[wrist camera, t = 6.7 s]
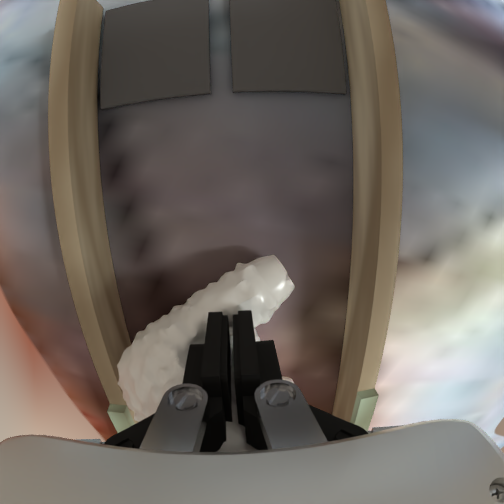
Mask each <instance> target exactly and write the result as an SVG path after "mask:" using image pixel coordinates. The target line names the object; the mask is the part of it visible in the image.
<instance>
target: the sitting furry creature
mask: <svg viewBox="0 0 504 504" xmlns="http://www.w3.org/2000/svg"><path fill="white" fill-rule="evenodd" d="M294 288H295V287H294V284H293V283H292V281H291V279H290V278H289V276H288V275H287V272H286V270H285V268H284V267H283V265H282V264H281V262H280V261H279V260H278V259H277V257H276V256H275V255H270V256H264V257H260V258H257V259H255V260H253V261H251V262H249V263H247V264H243V263H237V264H236V268H235V270H234V271H230V272H225V274H224V275H223V276H221V278H220V279H219V280H218V282H213V283H209V284H208V286H207V287H206V288H205V289H202V290H199V291H197V292H195V293H193V295H192V296H191V297H190V298H188V299H187V302H186V303H185V304H184V305H177V306H174V307H173V308H172V310H171V311H170V313H169V314H168V315H163V316H162V317H161V318H160V319H158V320H156V321H155V322H154V323H153V322H151V323H150V324H148V325H147V327H146V329H145V330H144V331H139V332H137V334H136V336H135V339H134V341H133V343H132V345H131V346H129V347H127V348H126V349H125V350H124V352H123V354H122V356H121V359H120V361H119V363H118V364H117V368H118V372H119V381H118V383H117V384H118V385H119V386H120V387H121V389H122V391H123V399H124V400H125V401H126V403H127V406H128V408H129V409H131V410H132V411H134V412H135V413H134V420H136V421H138V422H140V421H141V420H143V419H145V418H147V417H149V416H150V415H152V414H154V413H155V412H156V410H157V408H158V406H159V404H160V401H161V399H162V397H163V395H164V394H165V392H166V391H167V390H169V389H170V388H171V387H174V386H176V385H180V384H182V383H183V377H184V372H185V366H186V361H187V356H188V351H189V346H190V344H204V343H205V335H206V327H207V319H208V312H222V313H223V315H228V322H229V335H230V346H231V399H232V400H231V402H232V422H227V421H226V441H225V442H224V443H223V444H222V446H221V448H220V449H219V450H218V451H217V452H238V451H255V450H257V449H255V448H254V447H252V446H250V445H249V444H247V443H246V433H245V427H244V426H242V425H240V424H238V414H237V404H236V394H235V383H234V364H233V315H234V314H238V311H242V310H251V311H252V318H253V326H254V333H255V341H260V338H259V337H258V335H257V331H256V330H255V327H256V326H258V325H259V324H265V323H267V322H268V321H270V319H271V317H272V315H273V314H274V312H275V311H276V310H277V309H279V308H280V304H282V303H283V302H284V301H285V300H286V299H287V298H288V297H289V296H290V294H291V292H292V291H293V289H294ZM282 380H286V381H289V382H292V383H294V382H293V380H292V379H291V378H290V377H285V376H282Z"/></svg>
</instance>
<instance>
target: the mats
mask: <svg viewBox="0 0 504 504" xmlns="http://www.w3.org/2000/svg"><path fill="white" fill-rule="evenodd" d="M230 29H231V56H232V81H233V93H235V92H315V93H332V94H346V93H347V91H346V79H345V68H344V58H343V49H342V41H341V33H340V26H339V19H338V12H337V6H336V0H230ZM205 94H211V92H210V59H209V0H150V1H145V2H140V3H136V4H131V5H127V6H123V7H119V8H115V9H111V10H108V11H106V13H105V22H104V32H103V44H102V60H101V90H100V109H102V110H104V109H109V108H114V107H119V106H124V105H129V104H135V103H141V102H147V101H153V100H160V99H168V98H175V97H184V96H194V95H205Z"/></svg>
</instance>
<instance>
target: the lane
mask: <svg viewBox="0 0 504 504" xmlns="http://www.w3.org/2000/svg"><path fill="white" fill-rule="evenodd" d="M339 4H340V10H341V16H342V23H343V30H344V38H345V46H346V54H347V64H348V74H349V85H350V98H351V114H352V136H353V229H352V251H351V267H350V281H349V293H348V304H347V315H346V324H345V333H344V341H343V349H342V356H341V363H340V370H339V377H338V383H337V389H336V395H335V401H334V406H333V412H332V415H333V416H336V417H338V418H341V419H343V420H345V421H348V422H350V423H353V424H355V425H358V426H360V427H362V428H363V429H365V430H366V431H368V428H369V425H370V422H371V419H372V415H373V412H374V409H375V406H376V402H377V399H378V394H377V392H376V390H375V384H376V380H377V376H378V372H379V368H380V364H381V359H382V355H383V350H384V345H385V340H386V335H387V330H388V324H389V319H390V313H391V307H392V301H393V294H394V287H395V279H396V271H397V262H398V253H399V242H400V230H401V214H402V190H403V141H402V118H401V103H400V91H399V81H398V72H397V64H396V56H395V49H394V43H393V37H392V31H391V25H390V20H389V15H388V10H387V6H386V1H385V0H339ZM102 15H103V7H102V6H101V5H100V4H99V3H98V2H97V1H96V0H60V2H59V7H58V12H57V18H56V24H55V30H54V37H53V45H52V53H51V64H50V76H49V96H48V140H49V160H50V173H51V184H52V193H53V202H54V209H55V216H56V223H57V229H58V235H59V240H60V246H61V251H62V256H63V260H64V265H65V270H66V274H67V278H68V282H69V286H70V290H71V294H72V298H73V301H74V305H75V309H76V312H77V315H78V319H79V322H80V325H81V329H82V332H83V335H84V338H85V341H86V344H87V347H88V350H89V352H90V355H91V358H92V361H93V363H94V366H95V369H96V371H97V374H98V376H99V379H100V381H101V384H102V386H103V389H104V391H105V393H106V396H107V398H108V400H109V403H110V406H109V408H108V410H107V412H108V414H109V416H110V419H111V421H112V423H113V425H114V427H115V429H116V430H117V432H118V433H119V432H121V431H123V430H125V429H127V428H129V427H130V426H132V425H134V424H136V423H138V421H136V420H134V413H135V412H134V411H132V410H131V409H129V408H128V406H127V403H126V401H125V400H124V399H123V391H122V389H121V387H120V386H119V385H118V384H117V383H118V381H119V372H118V368H117V364H118V363H119V361H120V359H121V356H122V354H123V352H124V350H125V349H126V348H127V347H129V346H131V342H130V338H129V334H128V330H127V326H126V323H125V319H124V314H123V310H122V306H121V302H120V297H119V293H118V288H117V283H116V278H115V273H114V268H113V263H112V257H111V252H110V246H109V239H108V233H107V226H106V219H105V211H104V203H103V194H102V185H101V174H100V161H99V144H98V113H97V92H98V61H99V46H100V34H101V24H102Z"/></svg>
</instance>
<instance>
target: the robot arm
mask: <svg viewBox="0 0 504 504" xmlns="http://www.w3.org/2000/svg"><path fill="white" fill-rule="evenodd" d="M233 364H234V383H235V394H236V404H237V414H238V424H240V425H242V426H244V427H245V433H246V443H247V444H249V445H250V446H252V447H254V448H255V449H257V450H255V451H238V452H217V451H218V450H219V449H220V448H221V446H222V444H223V443H224V442H225V441H226V421H227V422H232V402H231V400H232V399H231V346H230V335H229V322H228V315H223V313H222V312H208V319H207V327H206V335H205V343H204V344H190V346H189V351H188V356H187V361H186V366H185V372H184V377H183V383H182V384H180V385H176V386H174V387H171V388H170V389H169V390H167V391H166V392H165V394H164V395H163V397H162V399H161V401H160V404H159V406H158V408H157V410H156V412H155V413H154V414H152V415H150V416H149V417H147V418H145V419H143V420H141V421H140V422H138V423H136V424H134V425H132V426H130V427H129V428H127V429H125V430H123V431H121V432H119V433H117V434H115V435H113V436H112V437H110V438H109V439H107V441H106V442H101V440H100V439H81V440H73V439H67V438H62V437H54V436H46V435H22V436H21V435H20V436H15V437H10V438H7V439H5V440H3V441H2V442H0V504H504V453H503V452H502V451H501V449H500V448H499V447H498V446H497V445H496V443H495V442H494V441H493V440H492V439H491V438H490V437H489V436H488V435H487V434H486V433H485V432H484V431H483V430H482V429H481V428H480V427H478V426H477V425H475V424H473V423H472V422H469V421H465V420H458V419H438V420H430V421H422V422H417V423H412V424H408V425H401V426H389V427H374V428H372V431H366V430H365V429H363V428H362V427H360V426H358V425H355V424H353V423H350V422H348V421H345V420H343V419H341V418H338V417H336V416H333V415H331V414H329V413H326V412H324V411H322V410H320V409H317V408H315V407H313V406H311V405H308V403H307V402H306V400H305V398H304V396H303V394H302V392H301V390H300V389H299V388H298V386H297V385H295V384H294V383H292V382H289V381H286V380H282V375H281V371H280V367H279V362H278V358H277V353H276V349H275V345H274V341H273V340H268V341H255V333H254V326H253V318H252V311H251V310H242V311H238V314H234V315H233Z"/></svg>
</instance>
